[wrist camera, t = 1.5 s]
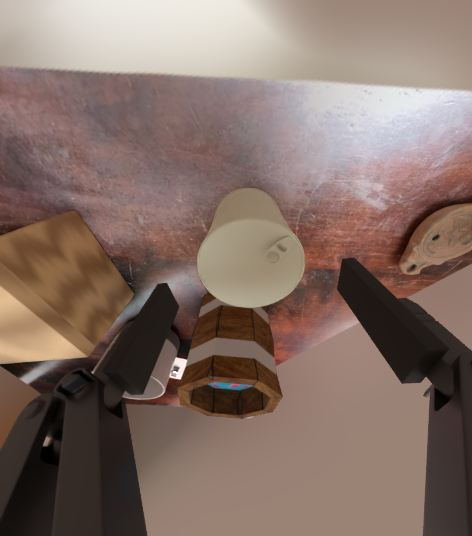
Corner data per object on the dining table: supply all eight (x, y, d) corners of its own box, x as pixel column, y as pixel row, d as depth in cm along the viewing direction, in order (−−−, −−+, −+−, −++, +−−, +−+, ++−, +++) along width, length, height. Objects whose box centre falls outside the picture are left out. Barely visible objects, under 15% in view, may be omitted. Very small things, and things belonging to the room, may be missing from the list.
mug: (188, 291, 32) (153, 381, 19) (260, 276, 29) (273, 369, 17) (222, 349, 42) (213, 432, 30) (277, 342, 40) (293, 429, 27)
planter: (126, 307, 35) (88, 359, 26) (188, 326, 38) (171, 378, 29) (122, 340, 42) (90, 391, 33) (174, 354, 44) (158, 404, 36)
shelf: (-26, 231, 26) (-188, 280, 16) (76, 209, 24) (-42, 252, 14) (54, 304, 35) (-20, 365, 25) (134, 294, 33) (87, 357, 23)
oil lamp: (403, 272, 28) (431, 293, 24) (372, 250, 26) (397, 269, 22) (508, 198, 21) (572, 209, 17) (478, 162, 19) (541, 166, 15)
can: (294, 222, 24) (331, 273, 14) (247, 262, 28) (249, 324, 18) (247, 169, 20) (252, 188, 11) (201, 224, 24) (172, 274, 15)
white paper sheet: (202, 363, 46) (201, 369, 45) (191, 381, 53) (190, 387, 52) (157, 352, 44) (154, 358, 43) (151, 373, 50) (149, 378, 49)
